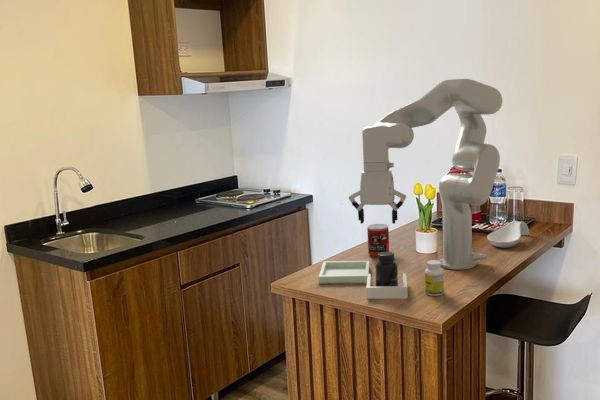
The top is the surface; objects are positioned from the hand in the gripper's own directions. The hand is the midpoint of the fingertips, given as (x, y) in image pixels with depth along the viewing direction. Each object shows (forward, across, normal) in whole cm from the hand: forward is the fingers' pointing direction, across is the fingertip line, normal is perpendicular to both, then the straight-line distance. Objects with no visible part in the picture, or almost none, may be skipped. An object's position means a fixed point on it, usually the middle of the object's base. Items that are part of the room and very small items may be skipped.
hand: (378, 222), depth 177 cm
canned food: (+21, +4, -36) cm, 42 cm away
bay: (+21, -2, +2) cm, 21 cm away
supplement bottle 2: (+21, -17, +3) cm, 27 cm away
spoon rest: (+21, -44, -54) cm, 73 cm away
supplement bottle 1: (+22, -2, +2) cm, 22 cm away
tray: (+21, +13, -12) cm, 28 cm away
